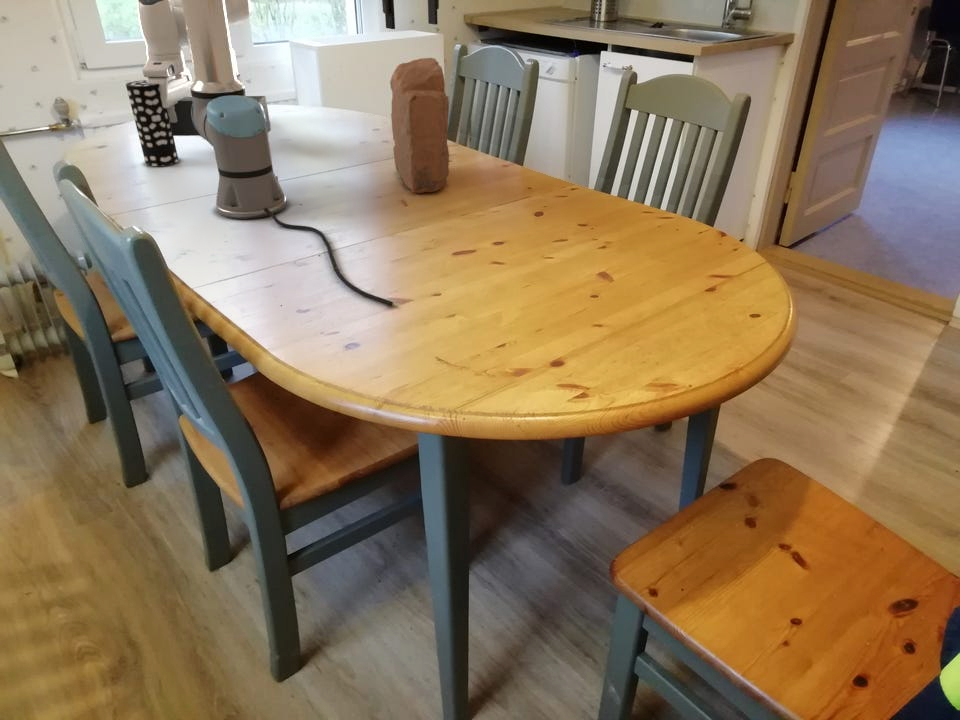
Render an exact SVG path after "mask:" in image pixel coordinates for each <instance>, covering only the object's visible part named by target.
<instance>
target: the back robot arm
mask: <svg viewBox="0 0 960 720" xmlns="http://www.w3.org/2000/svg"><path fill="white" fill-rule="evenodd" d="M224 2H225V9H226V15H227V22H228V27H230V26H235V25H239V24H243V23H245V22H247V21H249V19H250V17H251V14H252V9H253V8H252V1H251V0H224ZM137 13H138V15H137V16H138V22H139V26H140V31H141V35H142V38H143V40H144V42H145V45H146V56H147V60H146V62H145V64H144V65H143V67H142V74H143V77H144V78H146V80H147V84H159V87H160V95H161V101H162V106H163V107H164V108H167V111H168V115H169V118H170V121H171V122H172V123H176V122H178V121H179V119H178V115H176V113H175V110H174V109H175V107H174V105H175V104H177V103H178V101H179V100H181V99H182V98H184V97H192V96H191V90H190V86H191V85H192V84H193V83H194V80H193V77H192V73H191V70H190V69H189V68H188V67H187V65H186V60H185V56H184V50H183V48H190V45H189V39H188V33H187V28H186V22H185V17H184V11H183V6H182V0H137ZM231 48H232V55H233V61H234V68H235V75H236V78H237V79H238V80H239V81H240V82H241V83H242V77H241V74H240V73H239V68H238V63H237V56H236V50H235V48H233V46H232V45H231ZM242 84H243V83H242Z"/></svg>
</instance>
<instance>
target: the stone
mask: <svg viewBox="0 0 960 720" xmlns="http://www.w3.org/2000/svg"><path fill="white" fill-rule="evenodd" d="M389 83H390V89H391V93H392V97H391V113H390V117H391V118H390V119H391V131H392V139H393V142H394V145H393V148H392V149H393V157H394V166H395V170H396V172H397V173H398V175H399V177H400V178H401V180H402V181H403V183H404V184H405V186H406V187H407V188H408V189H410V191H411V192H412V193H413V194H423V193H431V192H434V193H435V192H437V191H439V190H440V189H441V188H443V187H446V185H447V182H448V181H447V179H448V177H449V175H450V173H449V172H450V169H449V166H450V162H449V161H450V154H449V146H448V127H449V110H450V102H449V101H450V99H449V96H448V95H447V94H446V91H445V90H446V83H445V75H444V72H443V68H442V66H441V65H440V64H439V61H437V59H436V58H434V57H421V58H418V59H413V60H411V61H409V62H402V63H399V64H398V65H396V68H395V69H394V71H393V73H392V74H391V77H390V82H389Z"/></svg>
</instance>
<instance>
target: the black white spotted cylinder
mask: <svg viewBox="0 0 960 720" xmlns="http://www.w3.org/2000/svg"><path fill="white" fill-rule="evenodd" d="M125 87H126V91H127V95H128V99H129V103H130V107H131V110H132V115H133V118H134V122H135V123H134V124H135V127H136V130H137V134H138V139H139V143H140V146H141V150H142V155H143V158H144V163H145V164H146V165H147V166H151V167H164V166H170V165H174V164H176V163H178V162H179V155H178V150H177V146H176V142H175V136H173V133H172V129H171V124H170V120H169V115H168V111H167V108H164V107H163V106H162V101H161V95H160V87H159V84H147V79H145V80H144V79H141V80H134V81H130V82H129V81H128V82H127V83H126V84H125Z"/></svg>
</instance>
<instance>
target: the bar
mask: <svg viewBox="0 0 960 720" xmlns="http://www.w3.org/2000/svg"><path fill="white" fill-rule="evenodd" d="M246 97H250V98H253V99H255V100H257V101H258V102H259V103H260V104H261V105H262V107H263V110H264V114H265V116H266V126H267V133H268V134H269V133H270V132H271V131H272V127H271V121H270V115H269V110H268V103H267V97H266V95H246ZM192 104H193V101H192V96H190V97H184V98H182V99H181V100H179V101H178V103H177V104H175V105H174V107H175V109H174V110H175V113H176V115H178V119H179V121H178V122H176V123H172V122H171V121H170V124H171V129H172V133H173V137H188V136H189V137H199V136H200V137H202V136H201V135H200V134H199V133H198V131H197V130H196V128H195V126H194V124H193V121H192V116H191V109H192ZM169 120H170V118H169Z"/></svg>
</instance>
